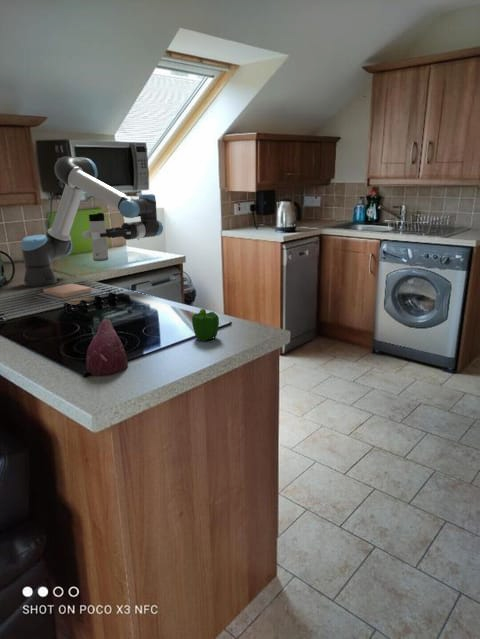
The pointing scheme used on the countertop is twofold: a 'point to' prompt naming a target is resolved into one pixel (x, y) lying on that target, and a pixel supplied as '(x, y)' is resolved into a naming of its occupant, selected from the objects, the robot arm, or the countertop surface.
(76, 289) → the tile
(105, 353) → the vegetable
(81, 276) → the countertop surface
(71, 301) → the coaster
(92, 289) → the mat
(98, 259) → the travel mug
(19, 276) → the countertop surface
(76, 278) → the countertop surface
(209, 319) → the bell pepper
